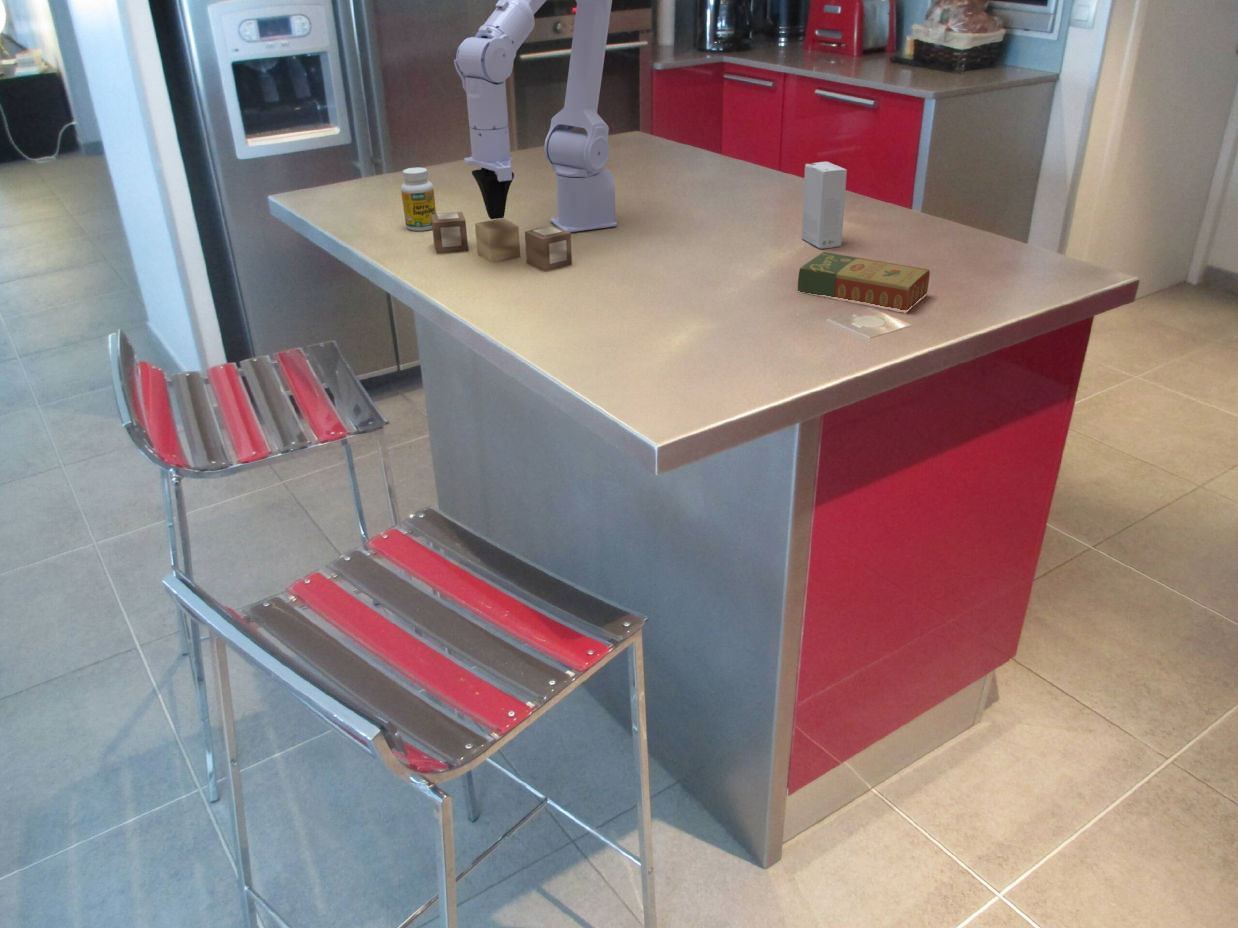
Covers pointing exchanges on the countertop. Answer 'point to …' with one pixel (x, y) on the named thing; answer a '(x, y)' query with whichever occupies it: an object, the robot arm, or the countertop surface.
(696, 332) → the countertop surface
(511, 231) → the oak block
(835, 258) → the carton
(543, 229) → the walnut block
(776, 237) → the countertop surface
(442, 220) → the walnut block
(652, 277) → the countertop surface
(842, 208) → the skincare box
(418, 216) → the supplement bottle
